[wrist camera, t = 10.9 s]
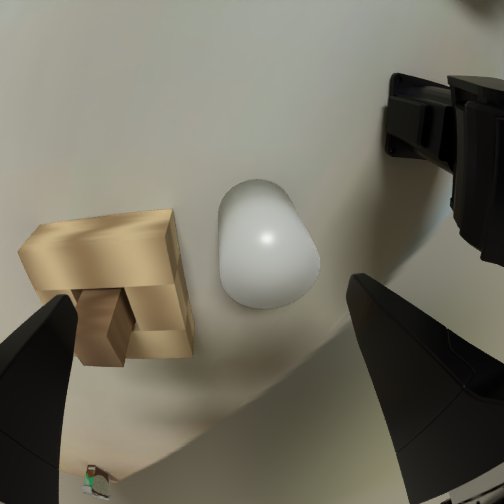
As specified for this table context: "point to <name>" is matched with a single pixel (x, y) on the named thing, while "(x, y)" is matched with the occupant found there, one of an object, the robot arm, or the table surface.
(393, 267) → the table surface
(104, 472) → the food container
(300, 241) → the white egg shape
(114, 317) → the square peg
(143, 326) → the socket block
